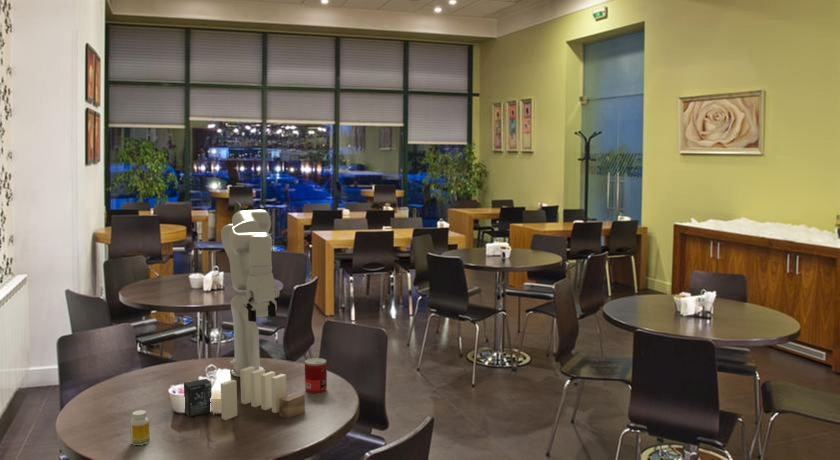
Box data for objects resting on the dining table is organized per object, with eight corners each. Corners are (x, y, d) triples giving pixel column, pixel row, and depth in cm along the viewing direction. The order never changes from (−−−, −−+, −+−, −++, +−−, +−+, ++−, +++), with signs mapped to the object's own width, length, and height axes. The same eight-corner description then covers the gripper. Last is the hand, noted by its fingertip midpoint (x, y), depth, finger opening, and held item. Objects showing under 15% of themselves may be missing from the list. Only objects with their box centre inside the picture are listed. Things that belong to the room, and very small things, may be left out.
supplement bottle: (127, 442, 233) (126, 412, 231) (144, 437, 236) (143, 407, 235) (136, 447, 229) (135, 416, 228) (153, 442, 233) (151, 412, 232)
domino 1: (221, 418, 252) (220, 383, 251) (233, 414, 257) (232, 379, 255) (225, 420, 251) (224, 384, 250) (237, 415, 255) (236, 380, 254)
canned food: (325, 393, 278) (324, 363, 276) (303, 393, 278) (302, 363, 276) (328, 386, 285) (327, 357, 284) (306, 386, 285) (306, 357, 284)
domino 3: (251, 406, 264) (250, 372, 263) (261, 401, 269) (260, 368, 267) (255, 407, 263) (254, 373, 262) (265, 403, 267) (265, 369, 266)
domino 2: (241, 403, 267) (240, 369, 266) (251, 399, 271) (250, 366, 270) (245, 404, 266) (244, 370, 265) (255, 400, 270) (254, 367, 269)
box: (189, 417, 254) (188, 386, 252) (184, 412, 258) (183, 382, 257) (212, 412, 258) (211, 382, 257) (207, 407, 263) (206, 378, 261)
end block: (279, 416, 255) (279, 398, 254) (296, 409, 261) (295, 392, 261) (288, 418, 253) (287, 401, 252) (304, 411, 259) (304, 394, 258)
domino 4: (261, 408, 262) (260, 374, 260) (271, 404, 266) (271, 371, 264) (265, 410, 261) (264, 375, 259) (276, 405, 265) (275, 372, 263)
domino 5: (271, 411, 259) (271, 377, 257) (282, 407, 263) (281, 373, 262) (276, 413, 258) (275, 378, 256) (286, 408, 262) (285, 374, 260)
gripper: (270, 266, 275) (271, 313, 276) (234, 272, 260) (236, 322, 262) (285, 267, 271) (287, 315, 272) (250, 274, 256) (252, 324, 258)
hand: (262, 318), depth 267 cm, fingers open, 9 cm apart
